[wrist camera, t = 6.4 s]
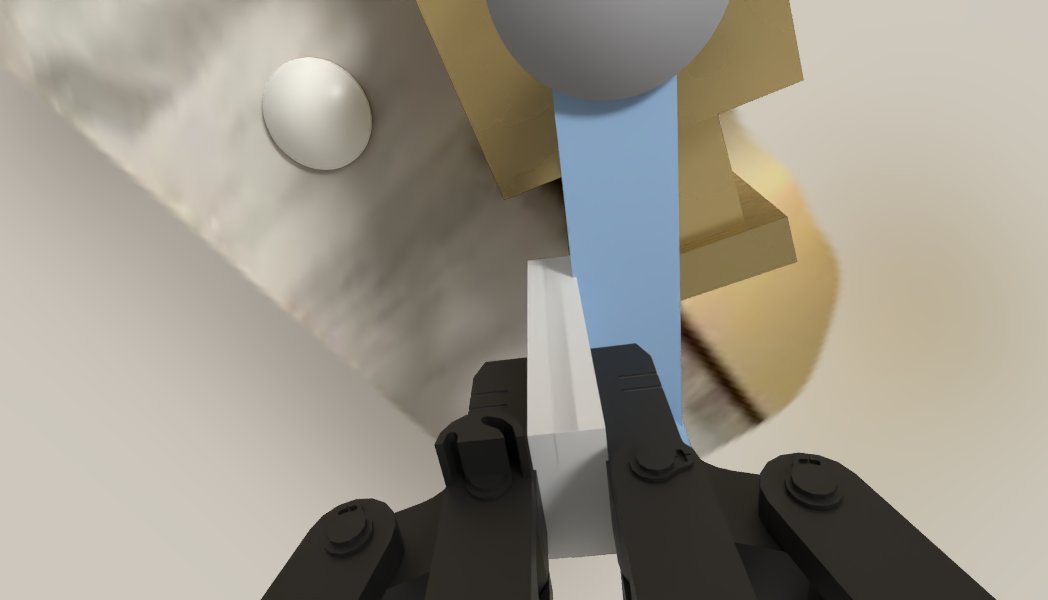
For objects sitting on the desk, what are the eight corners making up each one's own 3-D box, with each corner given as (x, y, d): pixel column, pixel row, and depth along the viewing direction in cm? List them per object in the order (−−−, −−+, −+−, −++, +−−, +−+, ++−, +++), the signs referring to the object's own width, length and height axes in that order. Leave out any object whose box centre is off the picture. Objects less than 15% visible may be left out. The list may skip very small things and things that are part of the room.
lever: (481, -125, 12) (456, -180, 8) (694, -165, 11) (754, -238, 8) (559, 429, 18) (561, 517, 15) (695, 418, 18) (728, 506, 15)
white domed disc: (336, 38, 22) (334, 38, 21) (391, 144, 23) (389, 146, 23) (244, 84, 22) (240, 85, 22) (303, 183, 24) (300, 185, 24)
